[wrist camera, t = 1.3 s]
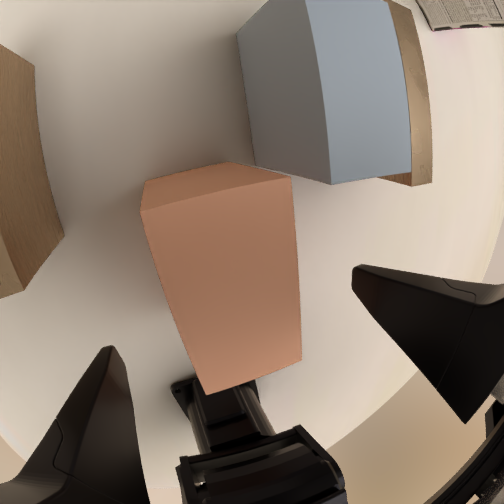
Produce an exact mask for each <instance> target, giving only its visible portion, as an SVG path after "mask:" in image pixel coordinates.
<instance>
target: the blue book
mask: <svg viewBox="0 0 504 504" xmlns="http://www.w3.org/2000/svg"><path fill="white" fill-rule="evenodd" d="M236 37H237V43H238V49H239V55H240V62H241V68H242V75H243V81H244V88H245V95H246V101H247V108H248V115H249V122H250V129H251V136H252V143H253V150H254V157H255V165H256V166H259V167H263V168H268V169H272V170H276V171H281V172H285V173H289V174H293V175H297V176H300V177H304V178H308V179H312V180H315V181H319V182H323V183H326V184H330V185H334V184H340V183H345V182H351V181H356V180H362V179H368V178H374V177H380V176H387V175H393V174H400V173H407V172H411V137H410V121H409V109H408V100H407V91H406V84H405V77H404V71H403V65H402V59H401V54H400V49H399V45H398V40H397V36H396V32H395V28H394V24H393V20H392V16H391V13H390V9H389V6H388V3H387V2H385V1H383V0H269V1H268V2H267V3H266V4H264V5H263V6H262V7H261V8H260V9H259V10H258V11H257V12H256V13H255V14H254V15H253V16H252V17H251V18H250V19H249V20H248V21H247V22H246V23H245V25H244V26H243V27H242V28H241V29H240V30H239V31H238V32H237V33H236Z"/></svg>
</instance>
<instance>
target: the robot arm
mask: <svg viewBox="0 0 504 504" xmlns="http://www.w3.org/2000/svg"><path fill="white" fill-rule="evenodd" d="M351 286H352V290H353V292H354V293H355V294H356V296H357V297H358V298H359V299H360V301H361V302H362V303H363V305H364V306H365V307H366V309H367V310H368V311H369V313H370V314H371V315H372V317H373V318H374V319H375V320H376V321H377V322H378V324H379V325H380V326H381V327H382V328H383V329H384V330H385V331H386V332H387V333H388V335H389V336H390V337H391V338H392V339H393V340H394V341H395V342H396V343H397V345H398V346H399V347H400V348H401V349H402V350H403V351H404V352H405V354H406V355H407V356H408V357H409V358H410V359H411V360H412V362H413V363H414V364H415V365H416V366H417V367H418V369H419V370H420V371H421V372H422V373H423V374H424V376H425V377H426V378H427V379H428V380H429V381H430V383H431V384H432V385H433V386H434V387H435V389H436V390H437V391H438V392H439V394H440V395H441V396H442V397H443V398H444V400H445V401H446V402H447V403H448V405H449V406H450V407H451V408H452V410H453V411H454V412H455V413H456V415H457V416H458V417H459V418H460V419H461V421H462V422H463V423H464V424H466V423H467V422H468V421H469V420H470V419H471V417H472V416H473V415H474V414H475V413H476V411H477V410H478V409H479V408H480V406H481V405H482V404H483V403H484V401H485V400H486V399H487V398H488V396H489V395H490V394H491V395H492V396H493V397H494V398H496V400H495V401H494V402H493V404H492V405H491V407H490V408H489V409H488V411H487V412H486V413H485V422H486V440H485V441H484V442H483V444H482V445H481V446H480V447H479V448H478V450H477V451H476V452H475V453H474V454H473V456H472V457H471V458H470V459H469V460H468V461H467V462H466V463H465V465H464V466H463V467H462V468H461V469H460V470H459V471H458V472H457V473H456V474H455V475H454V476H453V477H452V478H451V479H450V480H449V481H448V482H447V483H446V484H445V485H444V486H443V487H442V488H441V489H440V490H439V491H438V492H436V493H435V494H434V495H433V496H432V497H431V498H430V499H428V500H427V501H426V502H425V503H424V504H466V503H467V502H468V501H469V500H470V499H471V498H472V496H473V495H474V494H476V495H477V496H478V497H479V499H478V500H477V501H476V502H474V503H473V504H504V284H500V285H492V284H483V283H474V282H466V281H459V280H452V279H446V278H440V277H435V276H429V275H423V274H417V273H412V272H406V271H400V270H394V269H388V268H382V267H376V266H370V265H365V264H361V265H358V266H356V267H354V268H353V270H352V284H351ZM171 391H172V394H173V395H174V397H175V399H176V400H177V402H178V403H179V405H180V407H181V408H182V410H183V411H184V413H185V414H186V416H187V417H188V419H189V420H190V422H191V426H192V429H193V433H194V436H195V439H196V443H197V446H198V449H199V452H200V454H199V455H194V456H189V457H188V456H181V457H179V458H180V462H181V464H180V465H179V466H177V467H176V472H177V476H178V480H179V483H180V488H181V494H182V502H183V504H348V502H347V494H346V490H345V489H344V487H345V482H344V477H343V474H342V472H341V470H340V468H339V466H338V464H337V463H336V461H335V460H334V459H333V458H332V457H331V456H330V455H329V454H328V453H327V452H326V451H325V450H324V449H323V448H322V447H321V445H320V444H319V443H318V442H317V441H316V440H315V439H314V438H313V437H312V436H311V435H310V434H309V433H308V432H307V431H306V430H305V429H304V428H303V427H302V426H301V425H297V426H294V427H293V428H292V429H289V430H287V431H284V432H281V433H278V434H276V433H275V431H274V429H273V428H272V426H271V424H270V422H269V420H268V418H267V416H266V415H265V413H264V411H263V409H262V407H261V405H260V400H259V396H258V392H257V387H256V383H255V379H254V380H251V381H248V382H245V383H243V384H240V385H237V386H234V387H231V388H228V389H225V390H222V391H219V392H215V393H212V394H209V395H206V393H205V391H204V389H203V387H202V385H201V383H200V380H199V378H198V377H197V378H194V379H190V380H187V381H183V382H180V383H176V384H173V385H172V386H171ZM200 482H204V483H203V484H202V485H201V483H200ZM0 504H150V501H149V497H148V493H147V488H146V484H145V479H144V474H143V469H142V464H141V458H140V453H139V446H138V440H137V433H136V425H135V417H134V408H133V402H132V397H131V393H130V388H129V382H128V377H127V371H126V367H125V364H124V362H123V360H122V358H121V357H120V355H119V353H118V351H117V350H116V348H115V347H114V346H113V345H110V346H106V347H103V348H102V349H101V350H100V351H99V353H98V354H97V356H96V357H95V358H94V360H93V361H92V363H91V364H90V366H89V367H88V369H87V370H86V372H85V373H84V374H83V376H82V377H81V379H80V380H79V382H78V383H77V385H76V387H75V388H74V390H73V391H72V393H71V394H70V396H69V397H68V399H67V400H66V402H65V404H64V405H63V407H62V408H61V410H60V412H59V413H58V415H57V416H56V419H55V420H54V421H53V423H52V425H51V426H50V428H49V429H48V431H47V433H46V434H45V436H44V438H43V439H42V441H41V442H40V443H39V445H38V446H37V448H36V449H35V451H34V452H33V454H32V455H31V457H30V458H29V459H28V461H27V462H26V464H25V465H24V467H23V468H22V470H21V471H20V473H19V474H18V475H17V476H16V477H15V478H13V479H12V480H10V481H8V482H5V483H2V484H0Z"/></svg>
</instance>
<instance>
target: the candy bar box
mask: <svg viewBox="0 0 504 504" xmlns="http://www.w3.org/2000/svg"><path fill="white" fill-rule="evenodd" d="M416 2H417V3H418V5H419V7H420V8H421V10H422V12H423V14H424V16H425V17H426V19H427V21H428V23H429V25H430V27H431V29H432V31H441V30H450V29H462V28H482V27H504V0H416Z"/></svg>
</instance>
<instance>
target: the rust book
mask: <svg viewBox="0 0 504 504" xmlns="http://www.w3.org/2000/svg"><path fill="white" fill-rule="evenodd" d="M140 215H141V219H142V223H143V226H144V230H145V233H146V237H147V240H148V244H149V247H150V250H151V254H152V257H153V260H154V263H155V266H156V269H157V273H158V276H159V279H160V282H161V285H162V287H163V290H164V293H165V296H166V299H167V302H168V304H169V307H170V310H171V313H172V315H173V318H174V321H175V323H176V326H177V328H178V331H179V333H180V336H181V338H182V341H183V343H184V346H185V348H186V351H187V353H188V355H189V358H190V360H191V362H192V365H193V367H194V369H195V372H196V374H197V376H198V378H199V380H200V383H201V385H202V387H203V389H204V391H205V393H206V395H209V394H212V393H215V392H219V391H222V390H225V389H228V388H231V387H234V386H237V385H240V384H243V383H245V382H248V381H251V380H254V379H256V378H259V377H262V376H264V375H267V374H270V373H272V372H275V371H277V370H280V369H282V368H285V367H287V366H289V365H292V364H294V363H296V362H299V361H301V360H302V343H301V314H300V292H299V274H298V258H297V244H296V231H295V219H294V207H293V196H292V186H291V177H290V176H286V175H282V174H278V173H274V172H271V171H266V170H262V169H258V168H254V167H250V166H245V165H241V164H237V163H232V162H224V163H219V164H214V165H210V166H205V167H200V168H196V169H191V170H187V171H183V172H179V173H174V174H170V175H166V176H163V177H159V178H155V179H151V180H147V181H145V185H144V190H143V195H142V201H141V207H140Z"/></svg>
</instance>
